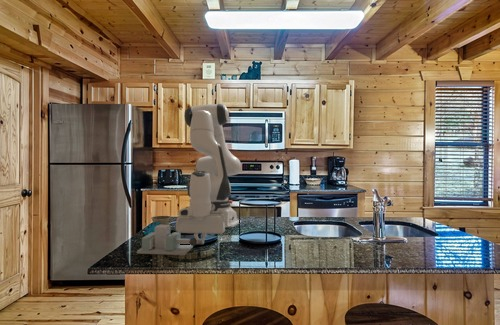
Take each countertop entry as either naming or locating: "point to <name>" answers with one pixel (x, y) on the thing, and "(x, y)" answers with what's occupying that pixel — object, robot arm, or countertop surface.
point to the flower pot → (161, 219)
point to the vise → (149, 248)
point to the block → (161, 235)
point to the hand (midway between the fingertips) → (200, 243)
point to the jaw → (177, 241)
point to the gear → (151, 228)
